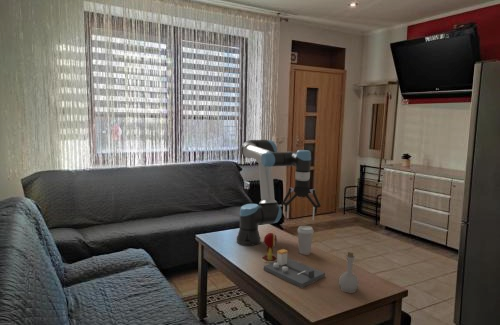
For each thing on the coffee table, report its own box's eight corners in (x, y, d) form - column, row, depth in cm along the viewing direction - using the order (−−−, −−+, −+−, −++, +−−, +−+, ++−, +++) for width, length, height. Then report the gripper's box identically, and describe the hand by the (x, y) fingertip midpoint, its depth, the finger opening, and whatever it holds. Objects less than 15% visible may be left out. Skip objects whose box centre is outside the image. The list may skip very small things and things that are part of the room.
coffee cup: (312, 250, 207) (313, 225, 205) (313, 256, 198) (314, 230, 196) (296, 249, 208) (297, 224, 206) (296, 255, 199) (297, 229, 197)
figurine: (279, 262, 187) (280, 236, 185) (260, 262, 187) (261, 235, 185) (277, 256, 196) (278, 231, 194) (260, 256, 196) (261, 230, 194)
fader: (276, 263, 180) (277, 251, 179) (282, 261, 183) (283, 248, 182) (281, 265, 178) (281, 252, 177) (287, 263, 181) (287, 250, 180)
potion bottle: (334, 289, 160) (337, 251, 157) (345, 283, 166) (347, 246, 164) (352, 296, 153) (354, 257, 151) (362, 289, 160) (364, 252, 158)
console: (263, 269, 178) (263, 260, 178) (286, 260, 190) (287, 252, 190) (301, 287, 160) (302, 277, 159) (324, 276, 172) (325, 267, 171)
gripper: (278, 179, 181) (276, 218, 184) (326, 182, 177) (324, 222, 180) (279, 176, 189) (277, 214, 191) (326, 179, 185) (323, 218, 187)
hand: (300, 218), depth 186 cm, fingers open, 13 cm apart
